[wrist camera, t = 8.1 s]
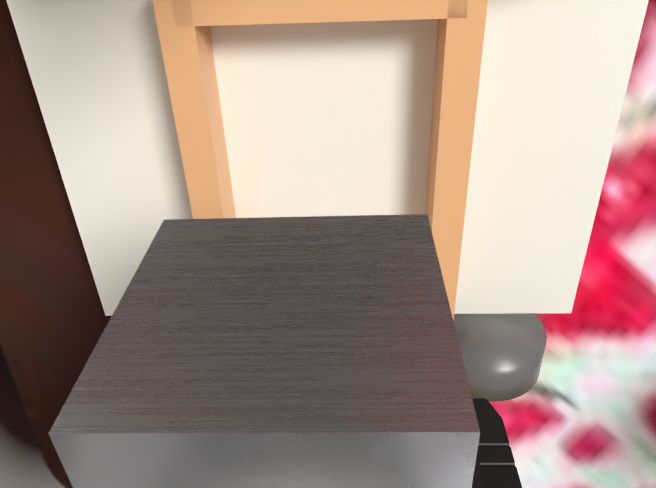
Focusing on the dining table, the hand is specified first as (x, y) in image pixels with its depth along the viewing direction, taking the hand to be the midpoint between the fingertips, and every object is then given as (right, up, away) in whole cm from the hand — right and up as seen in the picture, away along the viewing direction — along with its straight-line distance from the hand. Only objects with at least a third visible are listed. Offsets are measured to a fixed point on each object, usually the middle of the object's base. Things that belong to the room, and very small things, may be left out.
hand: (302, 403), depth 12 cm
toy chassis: (+1, +8, +12) cm, 14 cm away
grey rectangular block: (0, 0, +1) cm, 1 cm away
